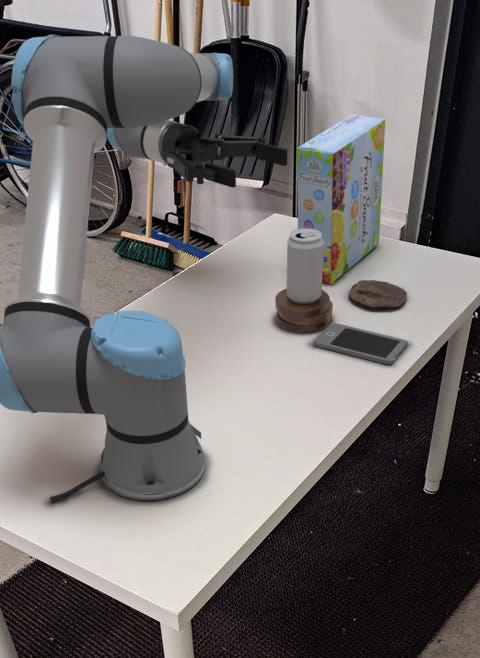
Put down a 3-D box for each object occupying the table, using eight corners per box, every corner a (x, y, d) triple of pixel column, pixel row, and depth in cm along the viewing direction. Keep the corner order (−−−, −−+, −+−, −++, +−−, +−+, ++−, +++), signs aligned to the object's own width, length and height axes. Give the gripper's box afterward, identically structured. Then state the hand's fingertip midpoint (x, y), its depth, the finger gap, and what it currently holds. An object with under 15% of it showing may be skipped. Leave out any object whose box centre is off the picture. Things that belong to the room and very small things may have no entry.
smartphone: (408, 343, 152) (409, 340, 151) (390, 365, 146) (391, 361, 146) (332, 325, 158) (332, 321, 157) (312, 345, 152) (312, 341, 152)
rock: (406, 287, 169) (408, 274, 168) (406, 313, 160) (407, 300, 159) (350, 283, 171) (351, 271, 169) (346, 309, 162) (347, 296, 160)
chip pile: (308, 339, 154) (308, 316, 151) (264, 322, 159) (264, 300, 156) (342, 318, 160) (344, 295, 157) (299, 302, 165) (300, 280, 162)
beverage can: (281, 293, 158) (282, 229, 150) (314, 287, 160) (316, 224, 152) (293, 308, 154) (294, 243, 146) (326, 302, 155) (329, 238, 147)
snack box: (344, 237, 187) (350, 112, 170) (380, 245, 183) (390, 118, 166) (293, 276, 174) (295, 144, 156) (331, 286, 170) (337, 151, 153)
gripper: (220, 148, 167) (305, 170, 156) (126, 183, 153) (212, 211, 142) (219, 107, 162) (306, 127, 151) (121, 139, 148) (210, 164, 138)
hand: (261, 168), depth 147 cm, fingers open, 13 cm apart
